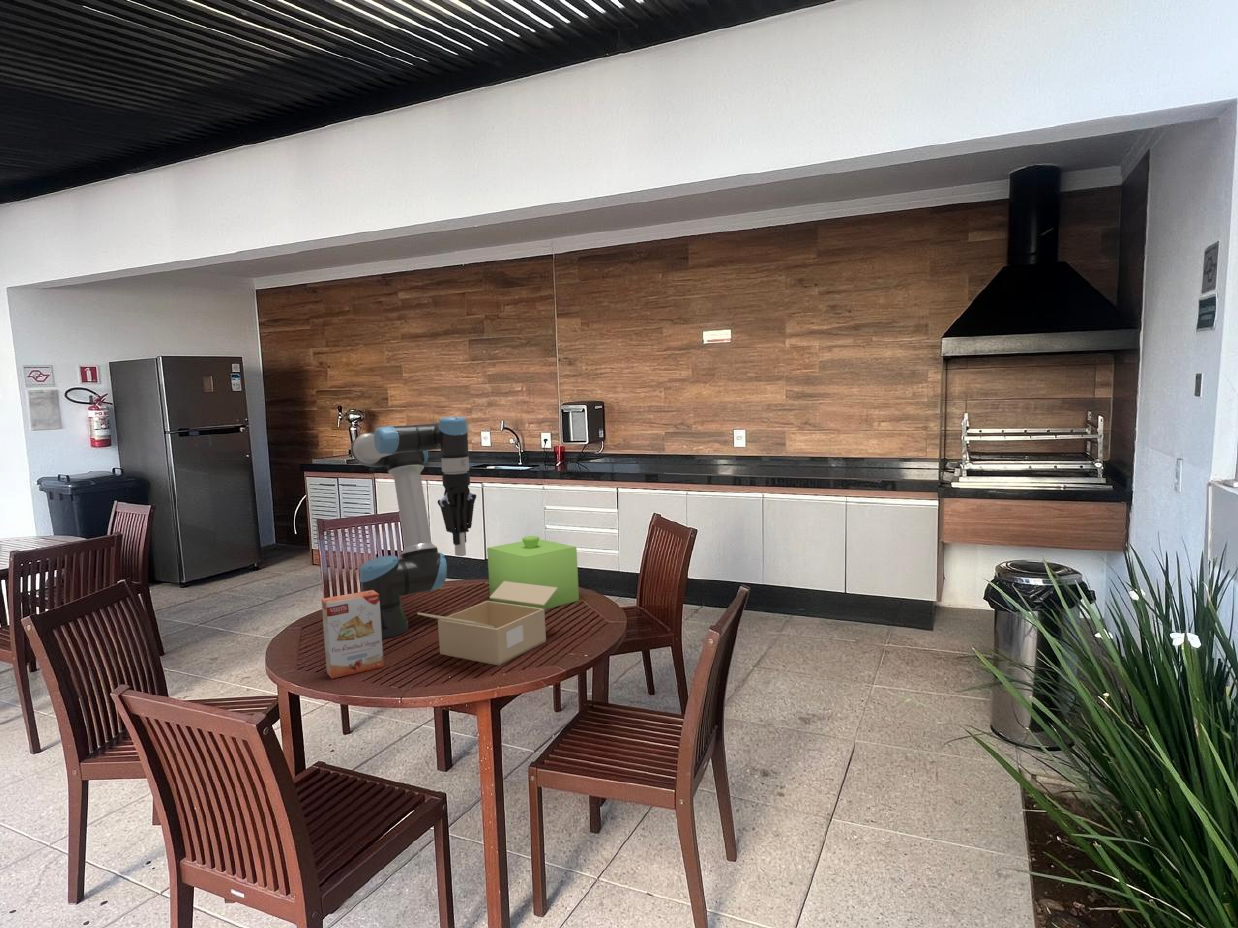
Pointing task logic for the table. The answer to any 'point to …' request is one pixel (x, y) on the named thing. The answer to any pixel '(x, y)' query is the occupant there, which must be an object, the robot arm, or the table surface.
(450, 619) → the flap
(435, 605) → the table surface
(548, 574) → the canister
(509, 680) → the table surface
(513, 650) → the carton
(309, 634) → the table surface
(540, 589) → the flap
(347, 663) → the cracker box
